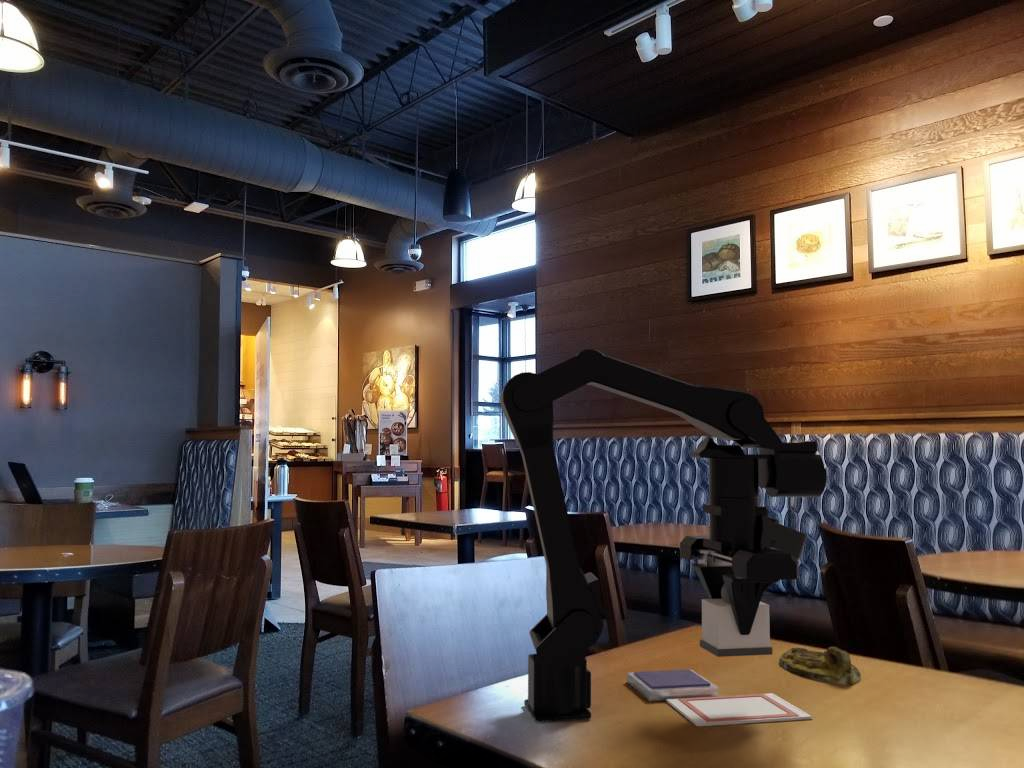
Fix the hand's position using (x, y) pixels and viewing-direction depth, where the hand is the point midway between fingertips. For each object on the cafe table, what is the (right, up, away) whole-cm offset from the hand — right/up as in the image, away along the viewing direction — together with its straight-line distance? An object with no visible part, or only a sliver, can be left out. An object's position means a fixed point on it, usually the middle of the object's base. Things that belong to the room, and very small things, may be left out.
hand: (734, 630), depth 93 cm
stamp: (0, -2, 0) cm, 2 cm away
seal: (+17, -11, +17) cm, 26 cm away
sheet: (0, -9, -1) cm, 9 cm away
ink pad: (-6, -10, +7) cm, 14 cm away
